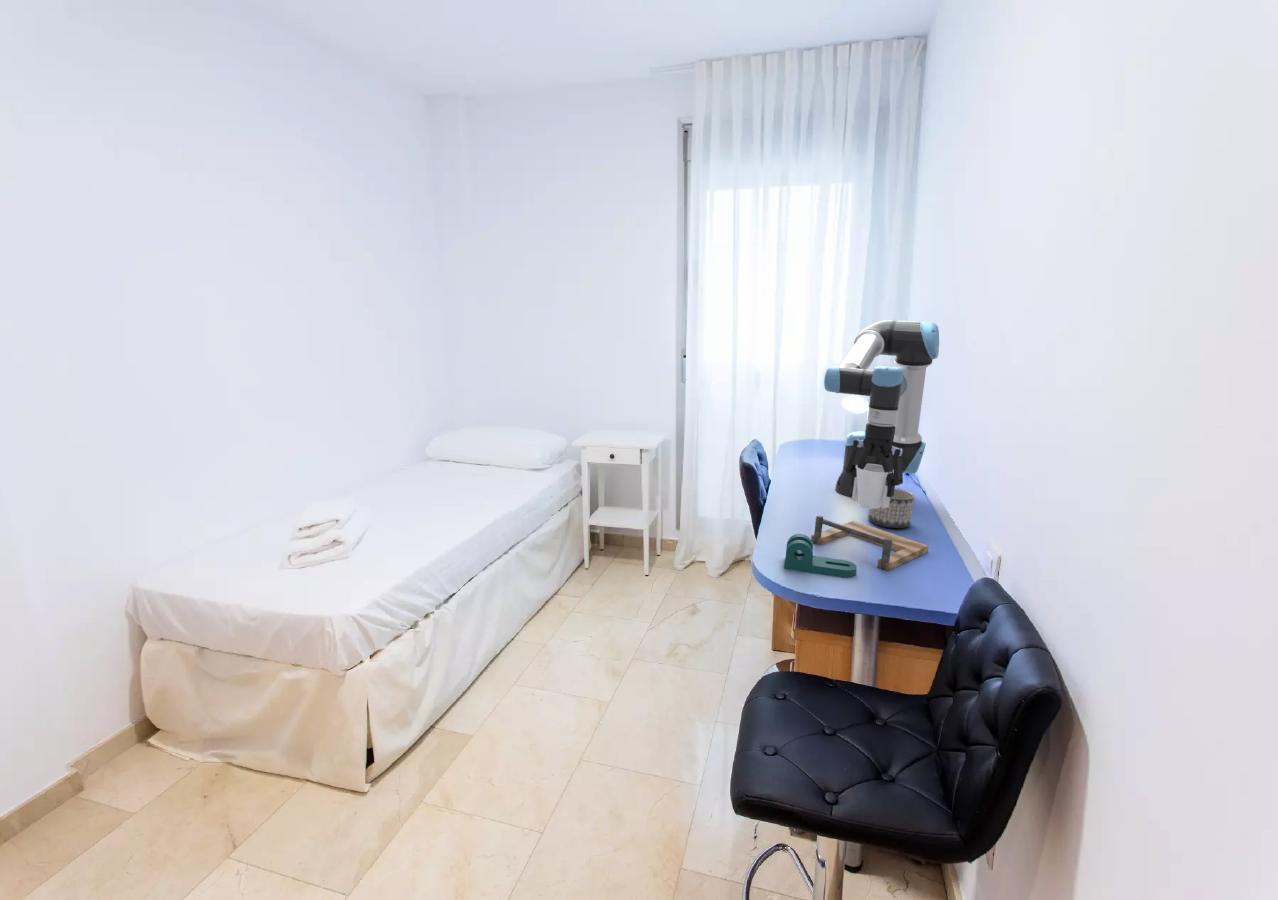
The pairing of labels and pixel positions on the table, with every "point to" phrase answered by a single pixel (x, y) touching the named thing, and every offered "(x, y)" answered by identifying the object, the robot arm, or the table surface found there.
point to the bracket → (814, 559)
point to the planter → (894, 511)
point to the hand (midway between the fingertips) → (870, 502)
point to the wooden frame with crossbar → (888, 540)
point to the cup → (871, 485)
